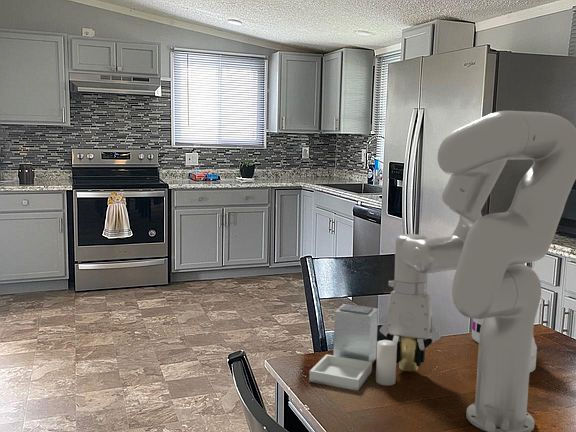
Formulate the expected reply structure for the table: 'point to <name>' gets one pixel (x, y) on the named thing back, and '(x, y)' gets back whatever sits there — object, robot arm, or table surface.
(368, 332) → the grey box
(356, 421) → the table surface
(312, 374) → the tray
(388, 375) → the cylinder
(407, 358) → the cylinder
